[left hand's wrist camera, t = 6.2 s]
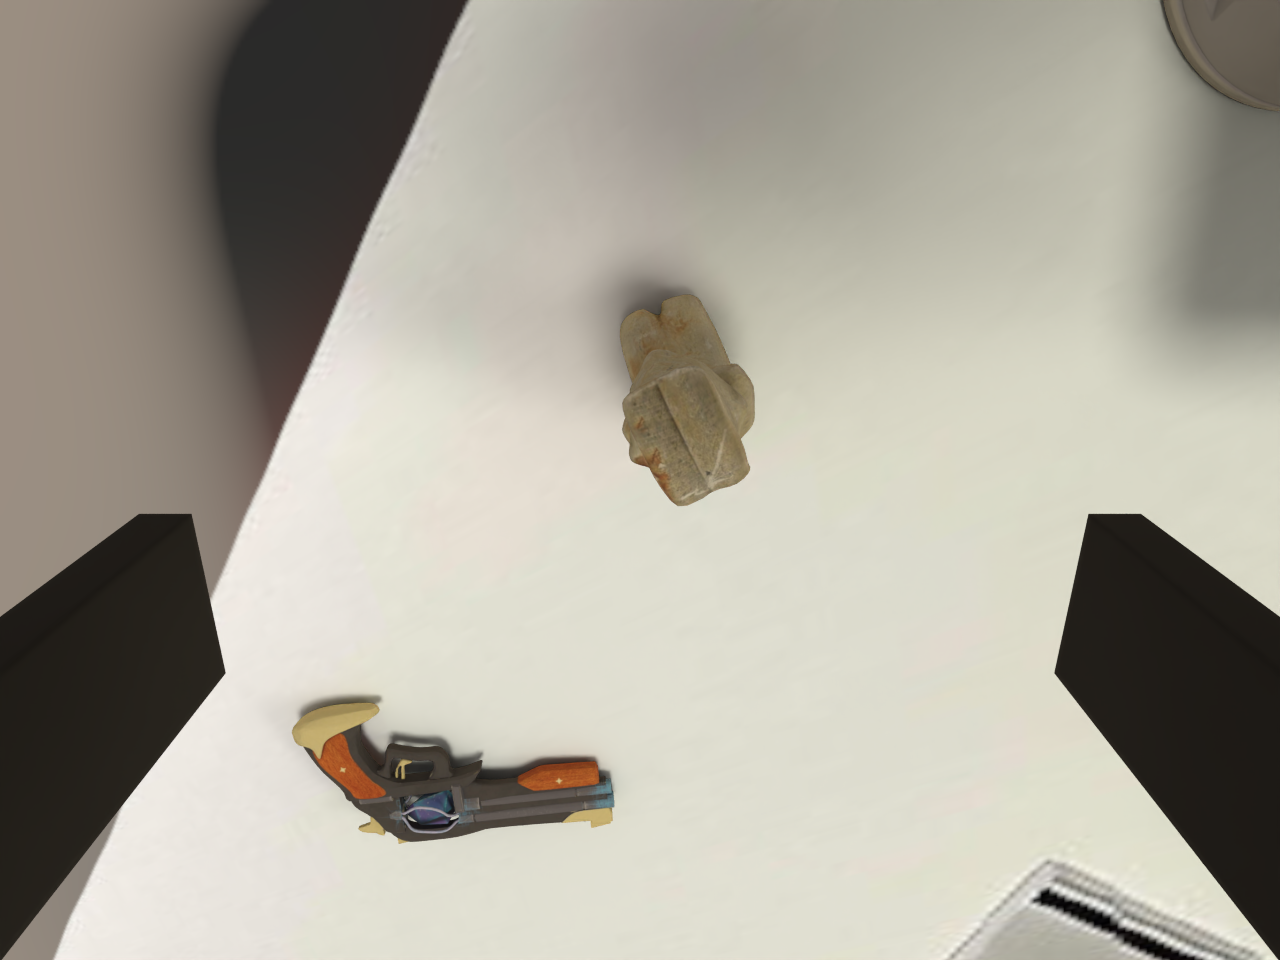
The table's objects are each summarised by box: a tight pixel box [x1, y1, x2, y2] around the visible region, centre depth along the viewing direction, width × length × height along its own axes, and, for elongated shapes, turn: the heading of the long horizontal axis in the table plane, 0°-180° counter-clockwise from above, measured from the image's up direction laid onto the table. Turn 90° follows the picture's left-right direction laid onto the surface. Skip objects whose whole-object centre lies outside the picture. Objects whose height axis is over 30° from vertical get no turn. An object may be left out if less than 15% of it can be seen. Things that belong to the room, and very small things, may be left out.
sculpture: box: [620, 295, 755, 506], centre depth 37 cm, size 6×7×15 cm
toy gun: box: [292, 703, 614, 844], centre depth 53 cm, size 3×19×10 cm
